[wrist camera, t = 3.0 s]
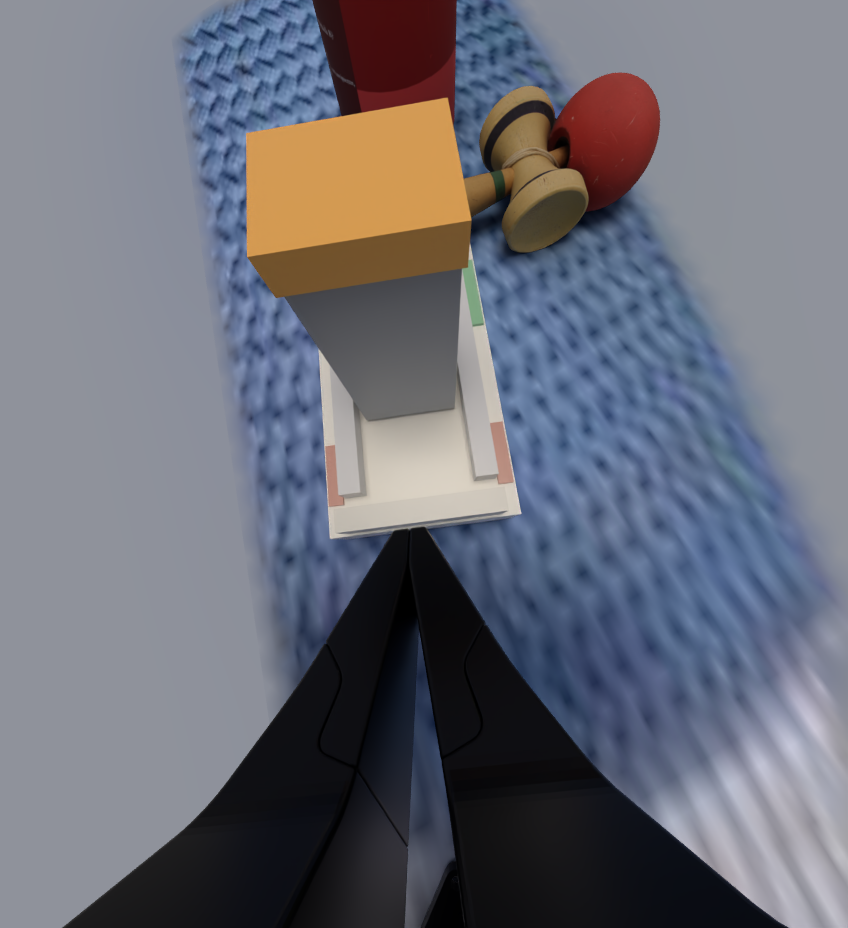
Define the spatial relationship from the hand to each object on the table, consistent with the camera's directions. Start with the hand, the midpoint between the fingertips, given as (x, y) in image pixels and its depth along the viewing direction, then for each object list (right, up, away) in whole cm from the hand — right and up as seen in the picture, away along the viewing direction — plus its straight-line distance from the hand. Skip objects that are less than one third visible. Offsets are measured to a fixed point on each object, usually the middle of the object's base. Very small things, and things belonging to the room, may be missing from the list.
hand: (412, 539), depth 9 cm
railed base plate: (0, +6, +12) cm, 13 cm away
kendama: (+5, +18, +14) cm, 24 cm away
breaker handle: (-1, +6, +8) cm, 10 cm away
